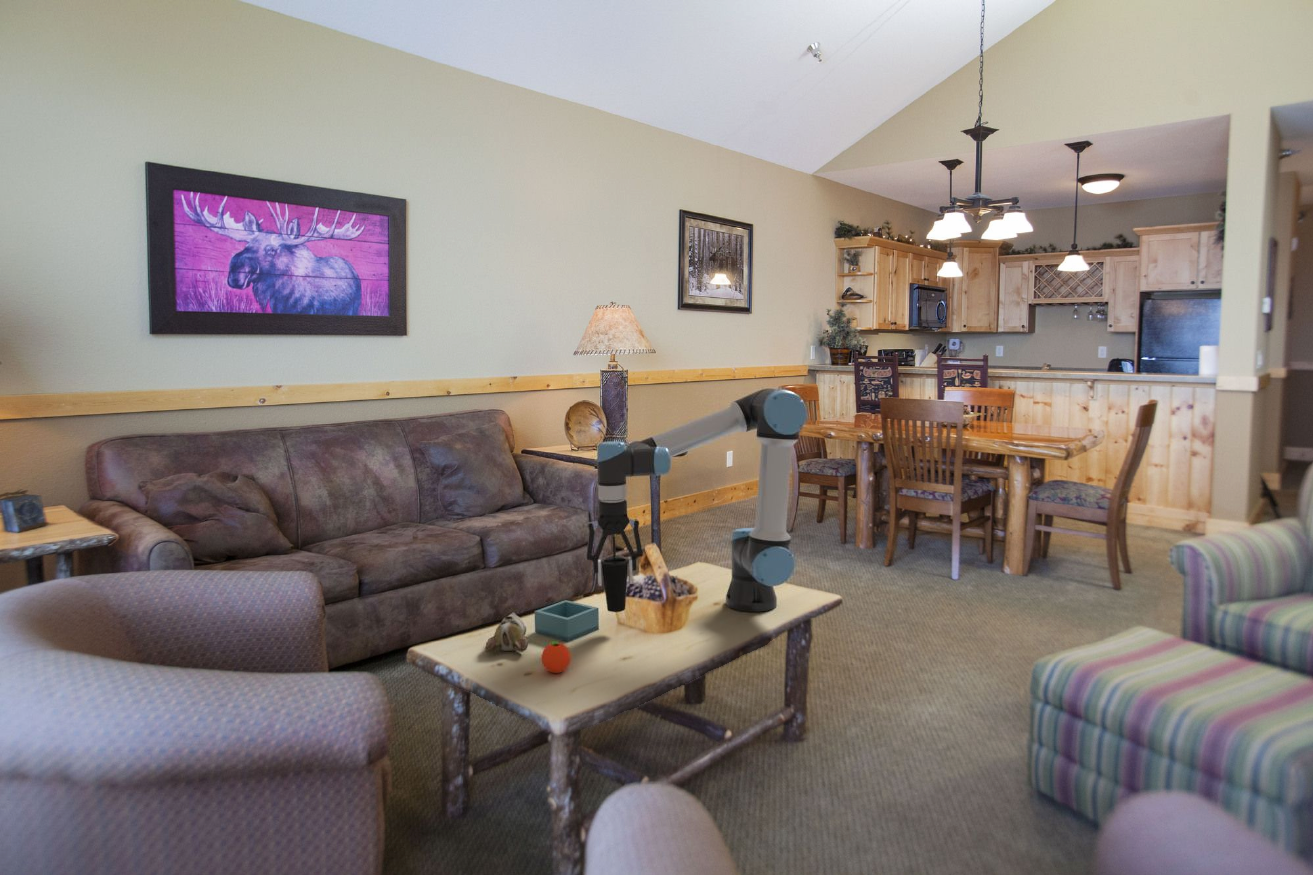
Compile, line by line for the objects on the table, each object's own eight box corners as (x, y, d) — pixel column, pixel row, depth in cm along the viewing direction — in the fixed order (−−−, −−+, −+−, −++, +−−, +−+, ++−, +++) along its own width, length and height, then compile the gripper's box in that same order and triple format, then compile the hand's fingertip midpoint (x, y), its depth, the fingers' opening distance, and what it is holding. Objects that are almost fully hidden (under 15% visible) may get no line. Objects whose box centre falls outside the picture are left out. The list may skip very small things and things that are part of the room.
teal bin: (598, 629, 221) (598, 607, 220) (568, 642, 211) (567, 619, 210) (566, 620, 228) (565, 600, 227) (535, 632, 218) (534, 611, 218)
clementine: (537, 667, 194) (536, 638, 193) (564, 662, 197) (564, 634, 196) (546, 679, 187) (545, 649, 186) (575, 674, 190) (574, 645, 189)
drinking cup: (603, 614, 214) (600, 540, 212) (601, 605, 221) (598, 534, 219) (631, 612, 215) (629, 539, 213) (628, 604, 222) (626, 532, 220)
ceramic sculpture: (533, 605, 213) (525, 628, 199) (534, 636, 215) (526, 661, 200) (492, 606, 213) (481, 629, 198) (494, 638, 215) (483, 662, 200)
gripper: (649, 495, 220) (651, 577, 222) (573, 499, 217) (576, 582, 219) (652, 500, 212) (655, 584, 215) (574, 504, 210) (577, 589, 212)
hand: (615, 583), depth 217 cm, fingers closed on drinking cup, 8 cm apart
